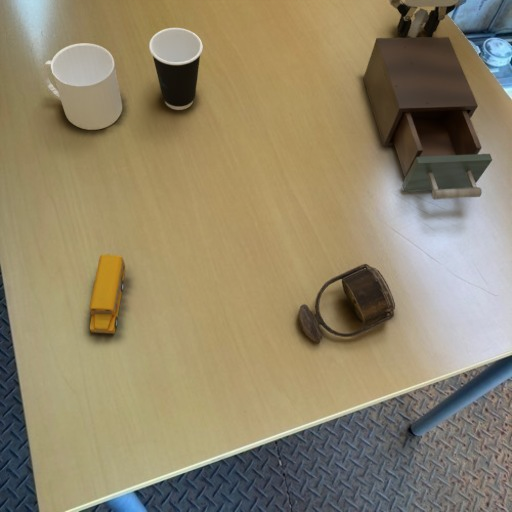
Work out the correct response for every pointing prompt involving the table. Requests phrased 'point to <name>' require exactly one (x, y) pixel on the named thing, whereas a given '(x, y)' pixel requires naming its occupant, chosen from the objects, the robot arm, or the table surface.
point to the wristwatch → (418, 22)
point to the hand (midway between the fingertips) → (414, 33)
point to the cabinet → (414, 80)
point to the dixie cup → (176, 65)
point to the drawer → (440, 153)
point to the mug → (85, 85)
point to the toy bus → (107, 294)
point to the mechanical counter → (354, 301)
